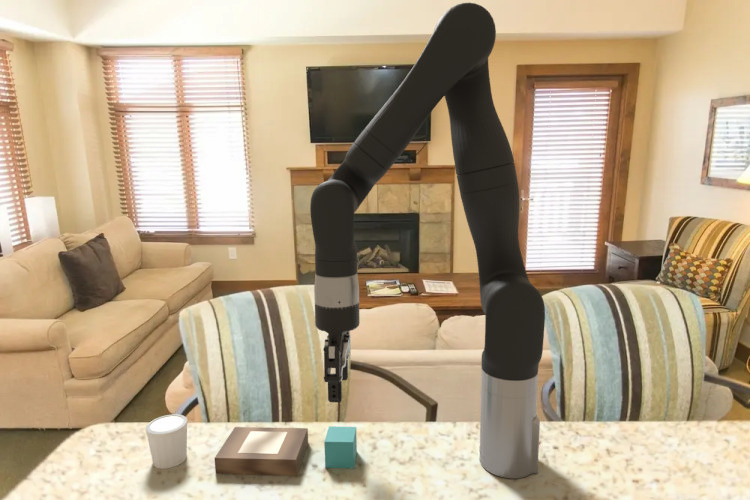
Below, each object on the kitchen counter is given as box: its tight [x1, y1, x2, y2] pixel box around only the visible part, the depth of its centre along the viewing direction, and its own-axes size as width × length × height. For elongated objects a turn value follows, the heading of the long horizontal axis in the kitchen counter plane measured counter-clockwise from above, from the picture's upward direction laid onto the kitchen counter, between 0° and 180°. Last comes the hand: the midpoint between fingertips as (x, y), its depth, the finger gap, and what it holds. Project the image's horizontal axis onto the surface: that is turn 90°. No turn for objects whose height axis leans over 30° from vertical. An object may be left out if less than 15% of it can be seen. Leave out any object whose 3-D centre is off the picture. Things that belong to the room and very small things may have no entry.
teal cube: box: [323, 426, 358, 469], centre depth 85 cm, size 5×5×5 cm
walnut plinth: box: [214, 426, 309, 477], centre depth 86 cm, size 14×10×3 cm
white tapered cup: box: [145, 413, 188, 469], centre depth 86 cm, size 7×7×7 cm
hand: (338, 389), depth 84 cm, fingers open, 8 cm apart
